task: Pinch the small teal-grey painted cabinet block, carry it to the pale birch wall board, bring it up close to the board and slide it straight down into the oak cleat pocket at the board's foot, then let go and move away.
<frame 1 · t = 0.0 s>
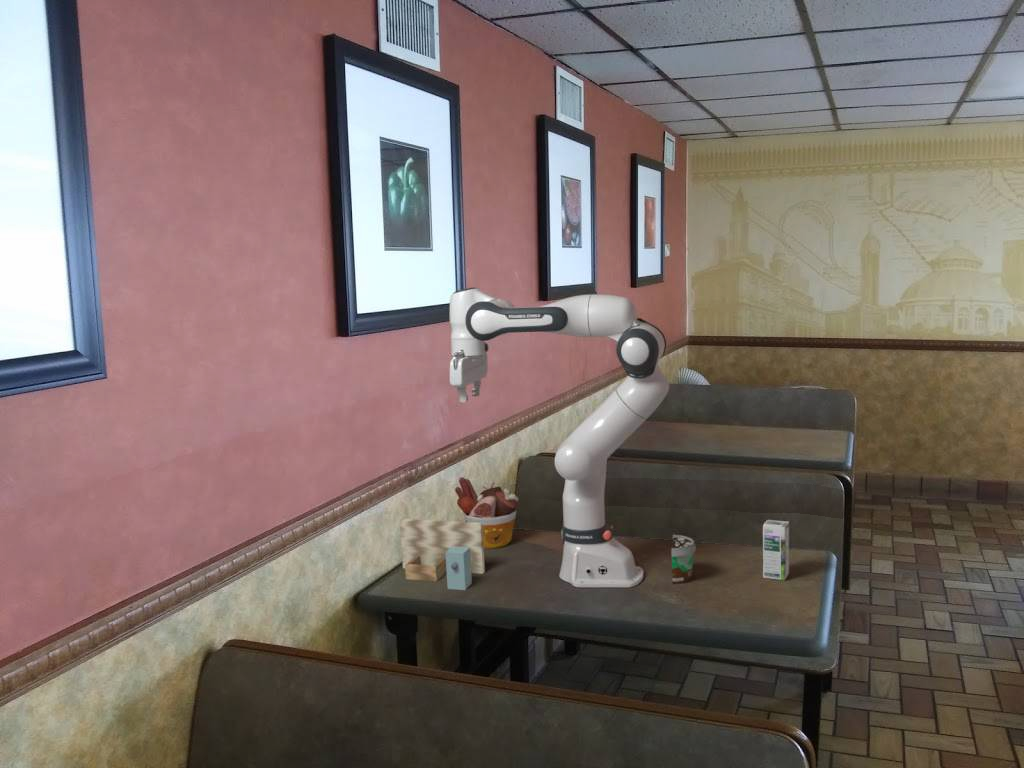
hand: (470, 399, 254), 48 cm above the table, tool pointing down, fingers open, 8 cm apart
food container: (684, 578, 246), on the table
cabinet block: (459, 586, 248), on the table
bucket of meat: (489, 543, 283), on the table
cleat board: (427, 574, 258), on the table
syrup box: (776, 576, 245), on the table
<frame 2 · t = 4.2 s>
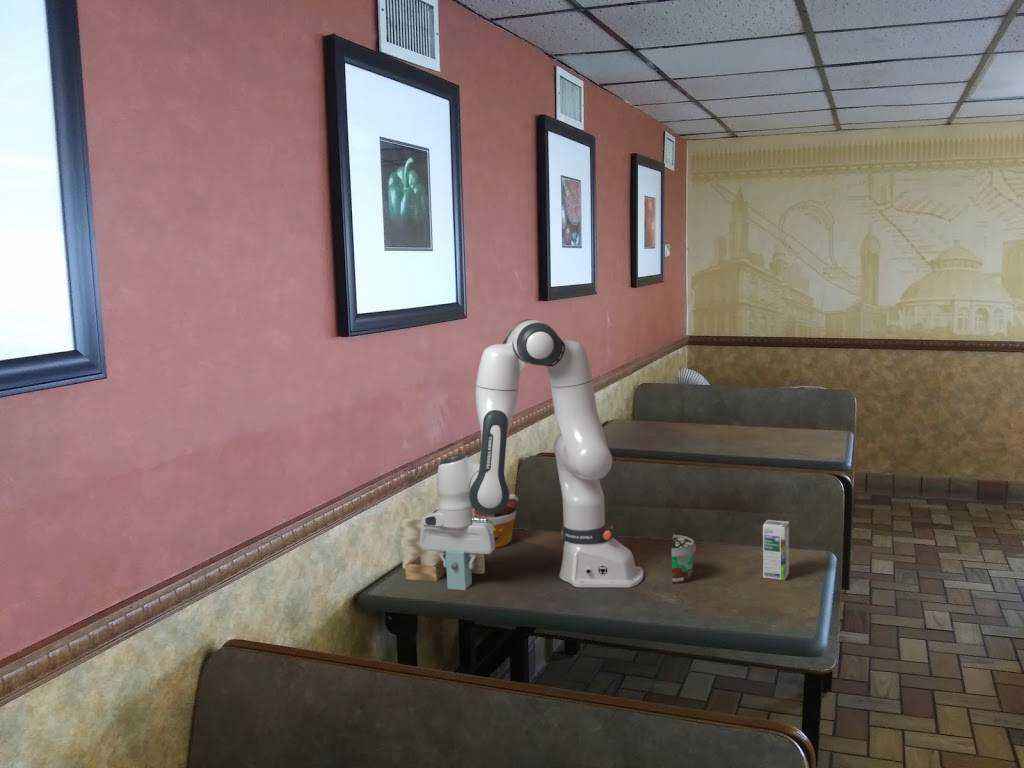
hand: (458, 567, 247), 5 cm above the table, tool pointing down, fingers closed on cabinet block, 5 cm apart
cabinet block: (459, 586, 248), on the table, touching gripper
everything else where it was.
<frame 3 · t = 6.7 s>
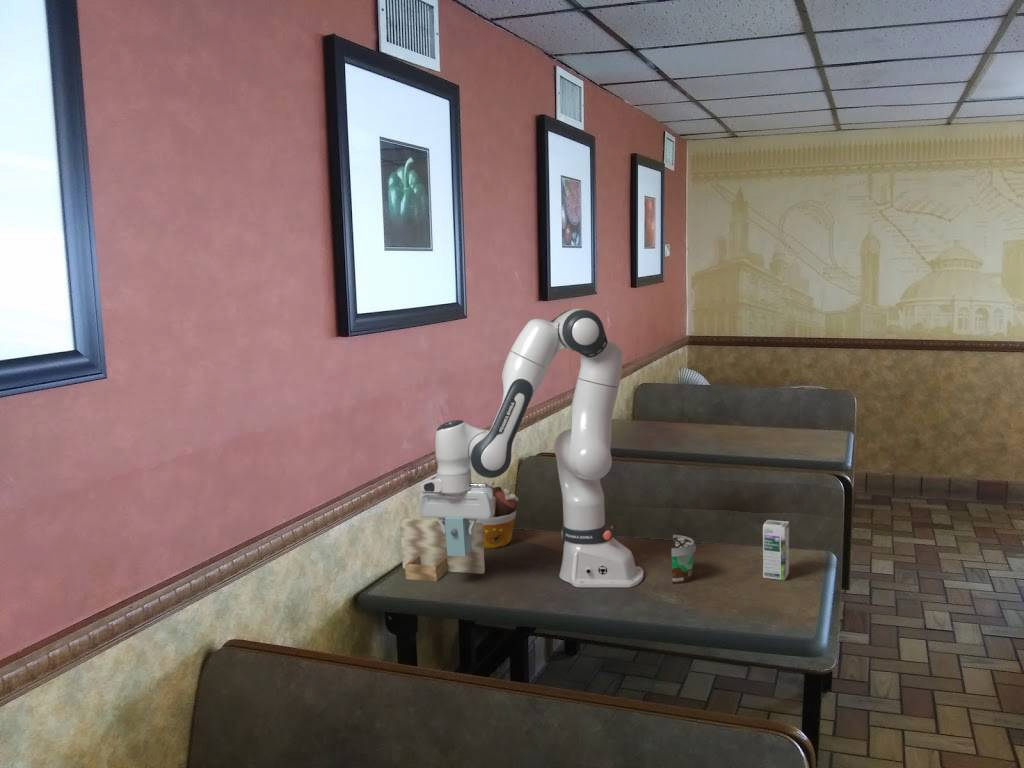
hand: (458, 533, 246), 14 cm above the table, tool pointing down, fingers closed on cabinet block, 5 cm apart
cabinet block: (459, 552, 247), point 9 cm above the table, touching gripper
everything else where it was.
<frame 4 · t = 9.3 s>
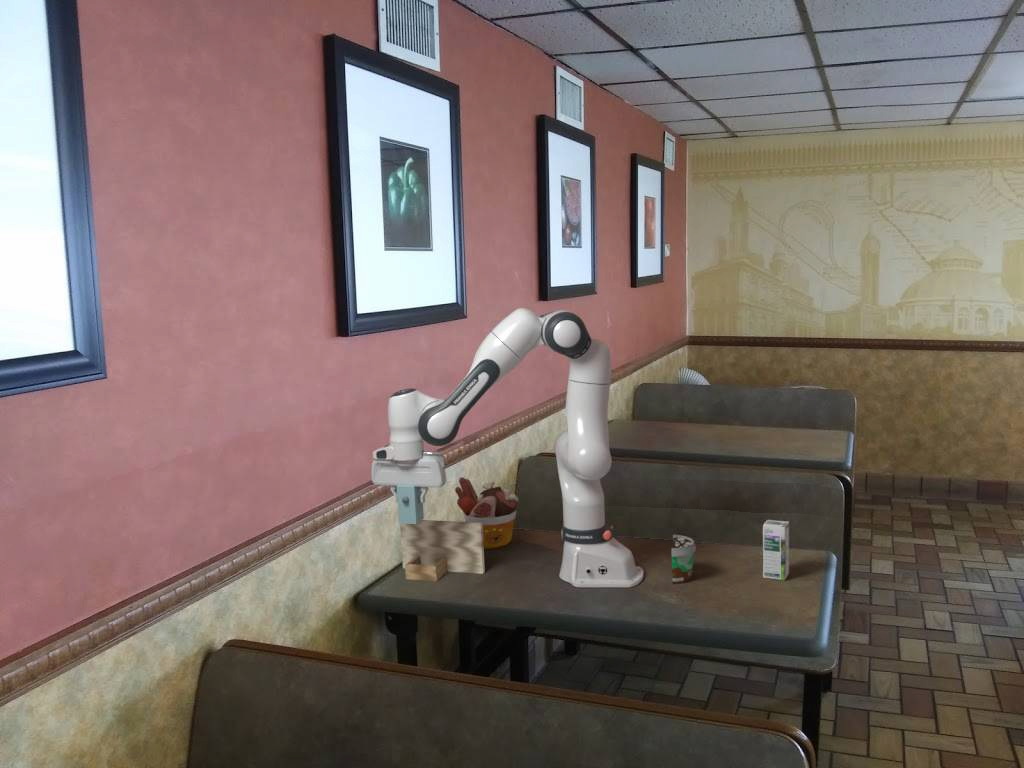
hand: (410, 502, 246), 23 cm above the table, tool pointing down, fingers closed on cabinet block, 5 cm apart
cabinet block: (411, 520, 247), point 18 cm above the table, touching gripper
everything else where it was.
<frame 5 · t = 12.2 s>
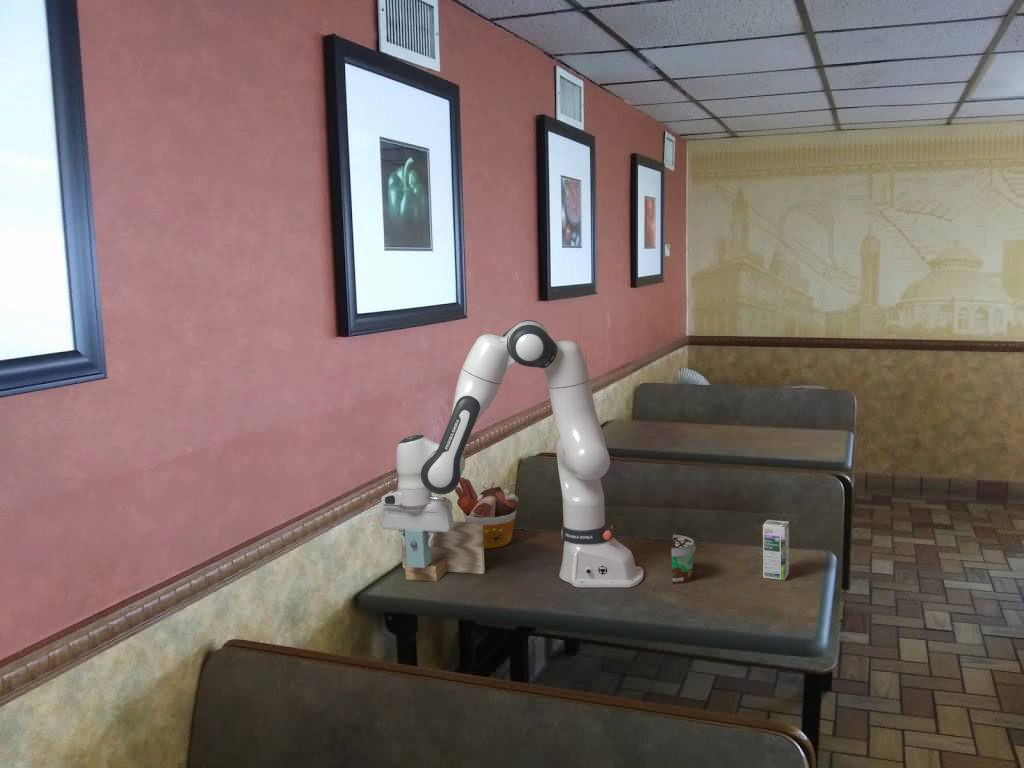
hand: (418, 545, 251), 10 cm above the table, tool pointing down, fingers closed on cabinet block, 5 cm apart
cabinet block: (419, 564, 252), point 5 cm above the table, touching gripper
everything else where it was.
when the fingers open (7 cm above the table, at t = 14.6 s): cabinet block drops 1 cm, resting in cleat board.
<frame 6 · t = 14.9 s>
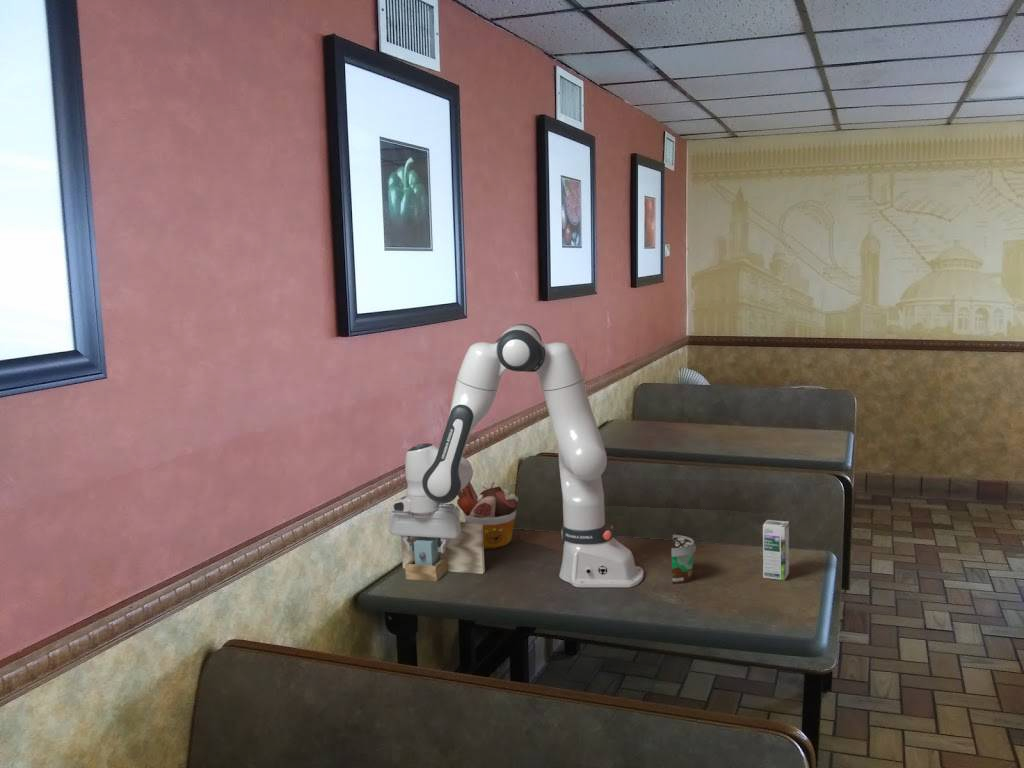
hand: (426, 551, 257), 7 cm above the table, tool pointing down, fingers open, 8 cm apart
cabinet block: (427, 574, 258), resting in cleat board
everything else where it was.
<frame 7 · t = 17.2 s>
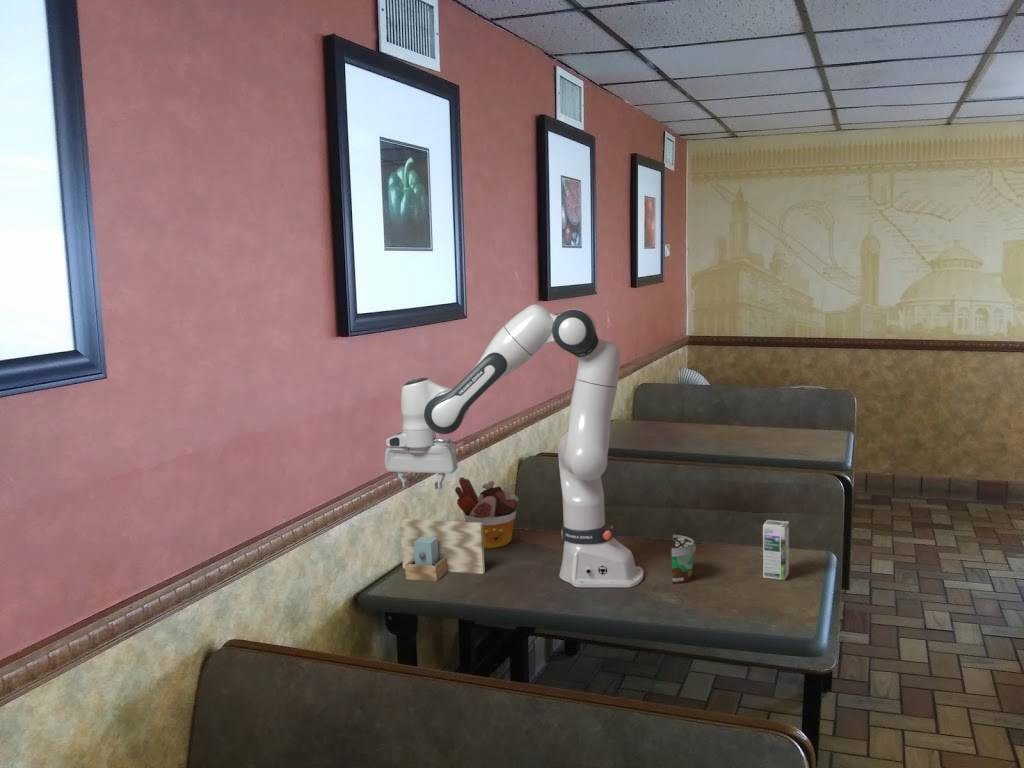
hand: (422, 488, 254), 25 cm above the table, tool pointing down, fingers open, 8 cm apart
nothing on the table moved.
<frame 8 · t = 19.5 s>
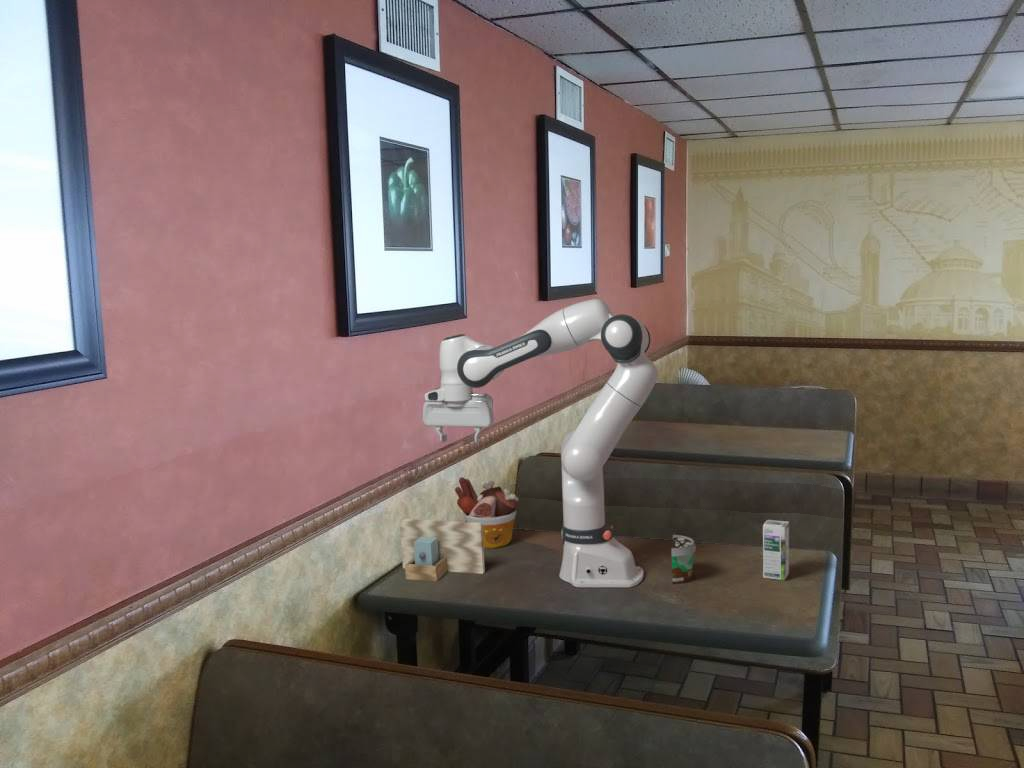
hand: (459, 441, 261), 35 cm above the table, tool pointing down, fingers open, 8 cm apart
nothing on the table moved.
at the end: cabinet block 0.1 cm off-centre on the cleat board, point 0.0 cm above the cleat board's base; cabinet block tilted 0°; the gripper is holding nothing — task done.
